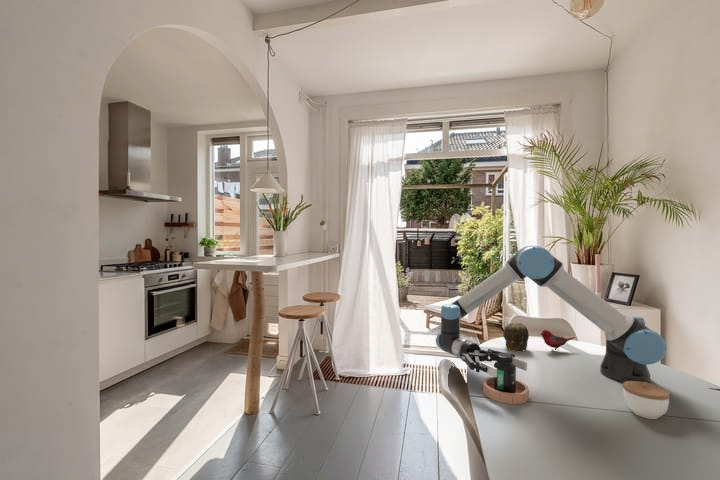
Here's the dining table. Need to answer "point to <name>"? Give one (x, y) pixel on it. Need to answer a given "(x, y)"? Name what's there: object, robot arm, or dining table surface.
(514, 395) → the terracotta dish
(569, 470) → the dining table surface
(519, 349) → the brown rounded lump
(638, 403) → the lidded jar
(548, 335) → the decorative bird figurine
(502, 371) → the supplement bottle
